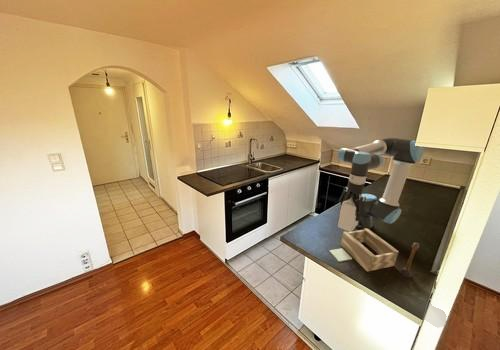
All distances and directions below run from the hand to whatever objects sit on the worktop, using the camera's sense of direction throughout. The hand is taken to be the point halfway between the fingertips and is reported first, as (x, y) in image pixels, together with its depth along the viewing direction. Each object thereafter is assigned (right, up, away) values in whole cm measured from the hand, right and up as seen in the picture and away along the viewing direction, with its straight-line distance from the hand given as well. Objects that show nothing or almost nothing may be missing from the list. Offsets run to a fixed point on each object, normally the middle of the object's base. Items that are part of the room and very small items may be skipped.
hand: (348, 220), depth 113 cm
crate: (+15, -23, +9) cm, 28 cm away
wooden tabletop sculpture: (+29, -28, -4) cm, 40 cm away
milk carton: (0, -5, +2) cm, 5 cm away
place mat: (-1, -22, +8) cm, 24 cm away
